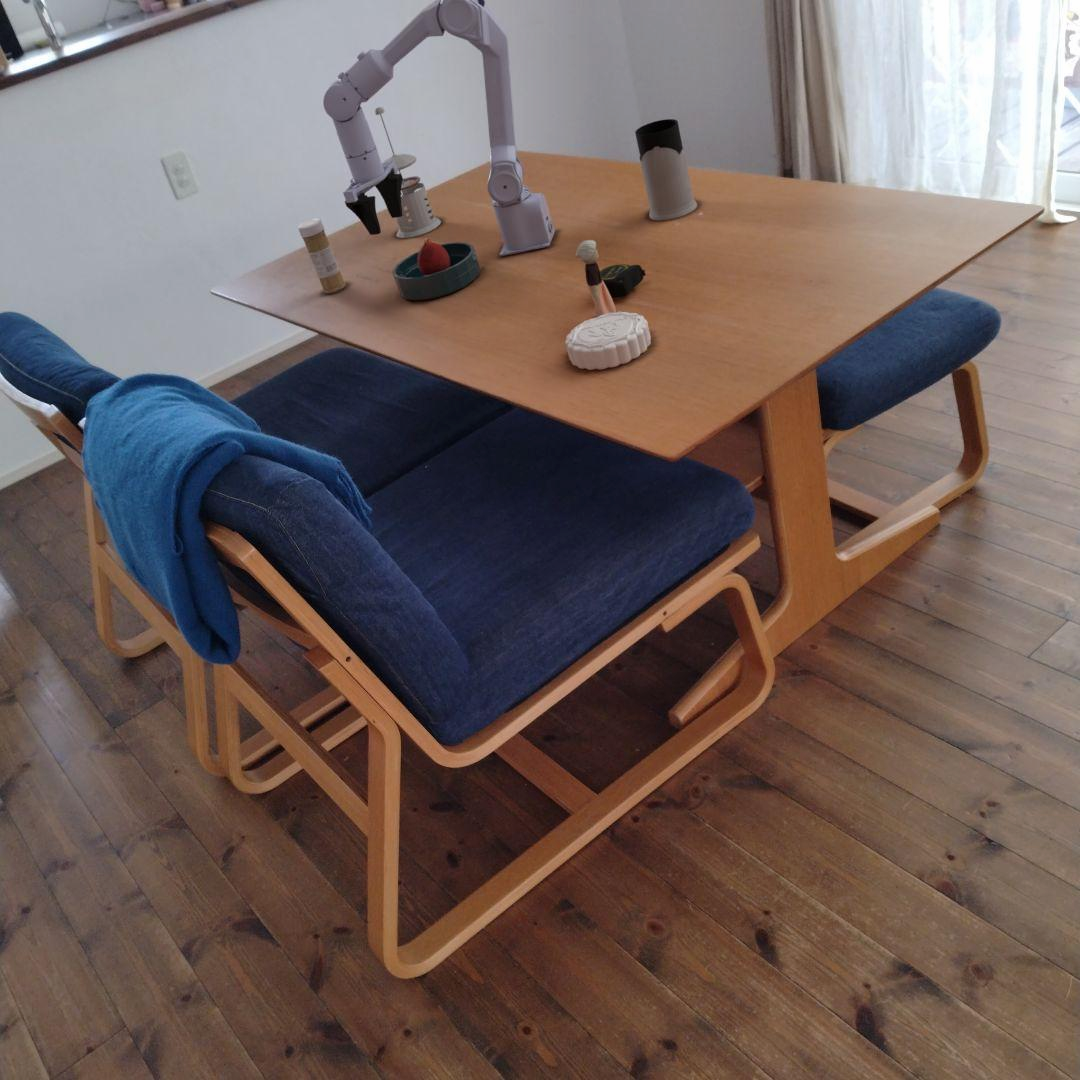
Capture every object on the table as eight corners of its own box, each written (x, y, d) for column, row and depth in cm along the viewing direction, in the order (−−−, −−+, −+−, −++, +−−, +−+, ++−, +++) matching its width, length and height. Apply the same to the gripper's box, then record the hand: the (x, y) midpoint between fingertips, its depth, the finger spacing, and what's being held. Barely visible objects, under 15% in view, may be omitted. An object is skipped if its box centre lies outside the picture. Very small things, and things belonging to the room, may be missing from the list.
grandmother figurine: (624, 324, 164) (604, 243, 157) (599, 332, 164) (579, 252, 157) (610, 307, 171) (591, 229, 164) (587, 315, 171) (567, 237, 164)
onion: (450, 284, 196) (436, 242, 192) (421, 290, 198) (406, 248, 194) (458, 271, 201) (445, 229, 197) (429, 276, 203) (416, 235, 198)
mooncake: (573, 378, 154) (566, 356, 152) (567, 344, 164) (561, 322, 162) (656, 356, 153) (651, 333, 151) (646, 323, 163) (640, 300, 161)
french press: (407, 241, 225) (365, 118, 212) (385, 232, 235) (344, 113, 221) (448, 222, 228) (409, 100, 215) (425, 214, 237) (387, 96, 224)
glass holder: (646, 223, 197) (628, 140, 189) (656, 195, 208) (639, 115, 200) (694, 214, 194) (678, 129, 186) (702, 186, 205) (687, 105, 197)
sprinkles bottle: (342, 281, 215) (317, 216, 208) (349, 287, 212) (323, 220, 204) (320, 291, 214) (294, 225, 207) (327, 296, 210) (300, 229, 203)
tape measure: (627, 303, 170) (622, 281, 168) (590, 303, 174) (584, 281, 172) (648, 283, 174) (643, 261, 172) (611, 283, 178) (606, 262, 176)
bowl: (488, 258, 204) (481, 235, 201) (471, 292, 192) (463, 268, 189) (412, 274, 208) (404, 251, 206) (391, 308, 196) (383, 285, 193)
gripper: (365, 140, 202) (389, 211, 209) (320, 169, 192) (348, 243, 200) (395, 135, 199) (419, 207, 206) (351, 165, 189) (378, 240, 196)
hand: (386, 225), depth 203 cm, fingers open, 7 cm apart
